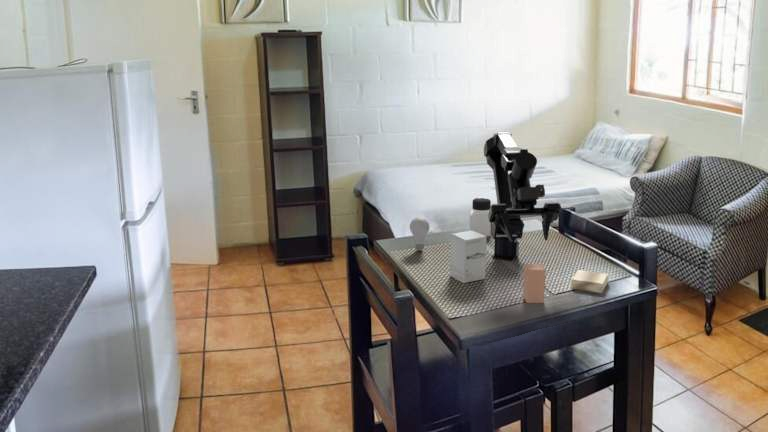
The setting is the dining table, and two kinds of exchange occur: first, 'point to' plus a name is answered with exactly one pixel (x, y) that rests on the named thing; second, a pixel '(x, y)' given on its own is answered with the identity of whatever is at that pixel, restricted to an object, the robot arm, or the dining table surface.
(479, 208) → the medicine bottle
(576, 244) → the dining table surface
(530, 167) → the robot arm
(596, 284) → the beech block
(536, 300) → the terracotta pillar
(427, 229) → the lightbulb
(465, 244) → the supplement box
